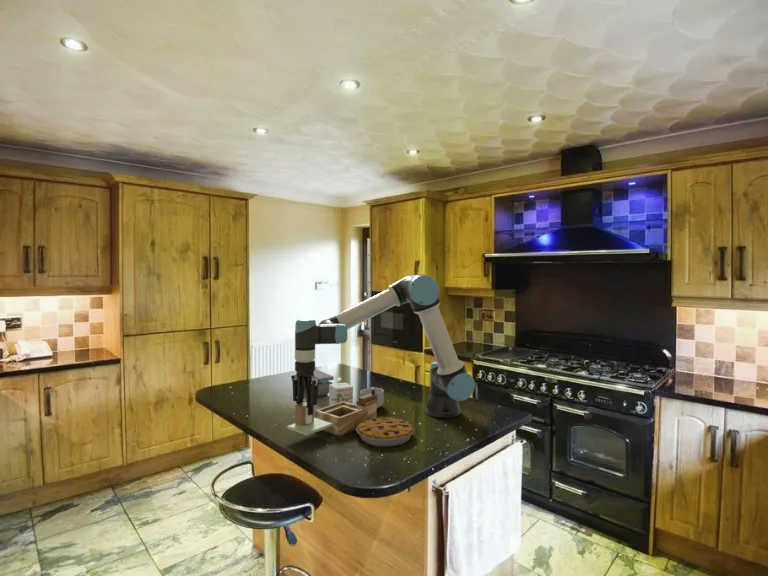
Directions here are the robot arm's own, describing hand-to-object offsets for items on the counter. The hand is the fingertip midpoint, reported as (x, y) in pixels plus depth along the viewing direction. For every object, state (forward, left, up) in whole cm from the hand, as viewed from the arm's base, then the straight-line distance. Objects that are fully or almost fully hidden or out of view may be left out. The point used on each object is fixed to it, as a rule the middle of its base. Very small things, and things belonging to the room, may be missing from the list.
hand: (304, 421), depth 159 cm
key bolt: (-7, -29, +2) cm, 30 cm away
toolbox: (-3, -20, -6) cm, 21 cm away
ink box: (+11, -31, -6) cm, 33 cm away
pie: (-23, -20, -6) cm, 31 cm away
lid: (-3, 0, -1) cm, 3 cm away
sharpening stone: (+40, -42, -6) cm, 58 cm away
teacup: (+4, -45, -6) cm, 45 cm away
